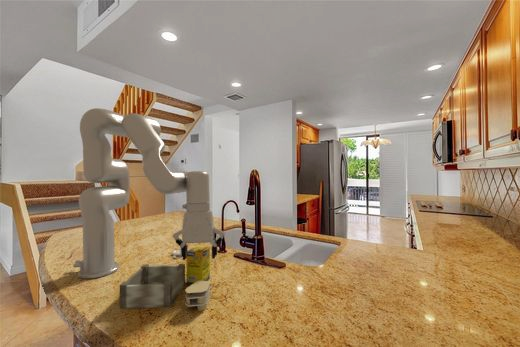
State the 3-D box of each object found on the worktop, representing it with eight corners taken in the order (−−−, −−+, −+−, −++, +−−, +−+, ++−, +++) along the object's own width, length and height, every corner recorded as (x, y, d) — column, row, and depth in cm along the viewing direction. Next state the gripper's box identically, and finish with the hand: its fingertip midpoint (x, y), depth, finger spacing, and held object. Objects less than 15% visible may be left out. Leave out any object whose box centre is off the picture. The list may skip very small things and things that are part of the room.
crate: (119, 308, 62) (119, 285, 62) (143, 283, 75) (143, 264, 75) (170, 307, 62) (170, 284, 62) (185, 282, 76) (184, 263, 76)
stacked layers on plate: (191, 295, 69) (191, 277, 69) (219, 297, 68) (219, 279, 68) (174, 316, 59) (174, 295, 59) (208, 319, 58) (207, 297, 58)
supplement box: (202, 286, 74) (202, 252, 74) (186, 284, 75) (185, 251, 75) (210, 277, 80) (210, 246, 79) (194, 276, 81) (194, 245, 81)
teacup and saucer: (169, 255, 102) (169, 246, 102) (187, 251, 107) (186, 242, 107) (177, 261, 95) (177, 251, 95) (195, 256, 100) (195, 247, 100)
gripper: (168, 210, 73) (169, 263, 73) (222, 208, 73) (223, 261, 74) (176, 206, 80) (177, 254, 80) (225, 205, 81) (226, 253, 81)
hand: (199, 257), depth 77 cm, fingers open, 9 cm apart
